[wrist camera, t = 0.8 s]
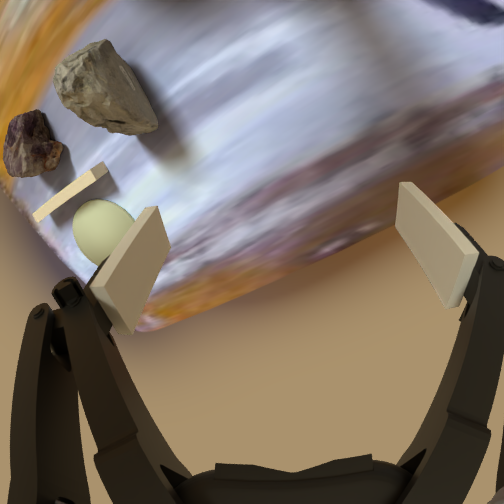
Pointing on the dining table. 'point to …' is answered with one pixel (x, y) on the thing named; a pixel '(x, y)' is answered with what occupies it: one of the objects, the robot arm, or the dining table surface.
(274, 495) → the robot arm
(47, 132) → the rock
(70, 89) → the decorative rock
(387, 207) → the dining table surface
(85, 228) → the felt pad
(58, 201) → the rail
